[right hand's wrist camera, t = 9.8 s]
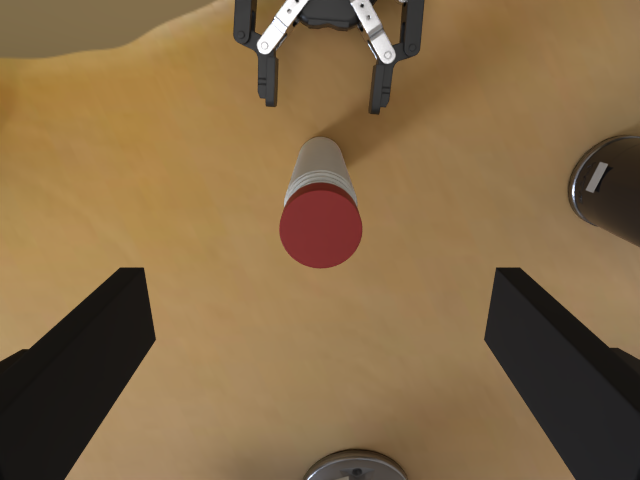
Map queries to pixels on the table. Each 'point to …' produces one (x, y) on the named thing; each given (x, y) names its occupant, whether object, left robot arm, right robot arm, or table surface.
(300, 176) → the bottle
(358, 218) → the cap
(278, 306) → the table surface
